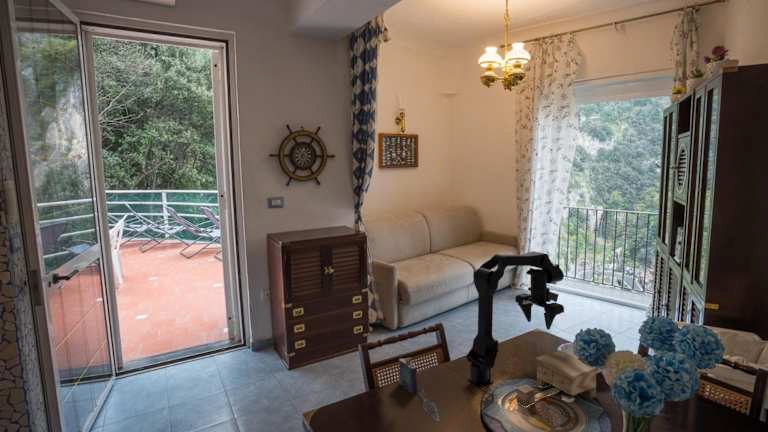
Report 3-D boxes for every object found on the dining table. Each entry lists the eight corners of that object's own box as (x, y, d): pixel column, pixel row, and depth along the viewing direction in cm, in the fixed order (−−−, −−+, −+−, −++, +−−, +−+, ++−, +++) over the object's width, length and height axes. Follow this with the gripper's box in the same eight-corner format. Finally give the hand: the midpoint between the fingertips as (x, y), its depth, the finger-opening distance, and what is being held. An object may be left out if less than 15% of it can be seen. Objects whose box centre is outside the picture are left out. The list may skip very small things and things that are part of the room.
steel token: (568, 404, 127) (568, 400, 127) (558, 398, 130) (558, 394, 130) (577, 401, 129) (577, 397, 128) (566, 395, 132) (567, 391, 132)
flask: (398, 383, 144) (397, 354, 143) (405, 381, 145) (404, 352, 144) (413, 394, 136) (412, 364, 135) (420, 392, 137) (419, 362, 136)
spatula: (525, 408, 125) (525, 392, 125) (517, 402, 129) (516, 387, 128) (562, 393, 133) (562, 379, 132) (553, 389, 136) (553, 374, 135)
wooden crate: (571, 407, 125) (572, 376, 124) (534, 386, 138) (534, 358, 137) (597, 397, 130) (598, 367, 129) (559, 377, 143) (559, 350, 142)
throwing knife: (423, 388, 140) (423, 387, 140) (446, 422, 121) (446, 420, 120) (411, 390, 139) (411, 389, 139) (432, 424, 119) (432, 422, 119)
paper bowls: (612, 382, 139) (613, 359, 138) (568, 383, 139) (568, 361, 139) (591, 362, 154) (591, 341, 153) (550, 363, 154) (550, 343, 154)
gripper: (574, 287, 148) (574, 329, 149) (534, 277, 164) (534, 314, 166) (553, 292, 143) (552, 335, 144) (514, 281, 159) (514, 319, 161)
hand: (538, 325), depth 154 cm, fingers open, 9 cm apart
